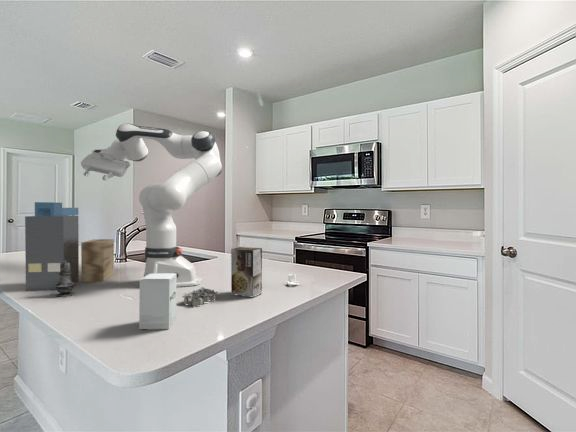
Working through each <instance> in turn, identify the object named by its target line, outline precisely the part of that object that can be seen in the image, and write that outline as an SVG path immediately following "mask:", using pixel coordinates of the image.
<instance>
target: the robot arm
mask: <svg viewBox="0 0 576 432" xmlns="http://www.w3.org/2000/svg"><path fill="white" fill-rule="evenodd" d="M115 137H116V139H115V140H114V141H112V143H111V144H110V145H109V146H108V147H107V148H103V149H93V150H92V151H91V153H90V154H89V153H88V155H86V156H85V157H84V158H83V159H82V160H81V161H80V165H81V167H82V169H83V170H84V172H83V176H84V177H89V176H90V172H96V173H100V174H103V176H102V180H103V181H108V180H109V179H111V178H113V177H118V178H121V177H123V176H125V174H126V173H127V170H128V168H130V166H131V163H130V162H129V161H133V162H142V161H143V160H145V159H146V158H147V157H148V156H149V153H150V152H149V149H148V147H147V145H146V143H145V141H144V139H146V140H153V141H156V142H158V143H159V144H160V145H161V146H163V149H165V150H166V151H167V153H168V154H169V155H171V156H172V157H173V158H175V159H179V160H187V159H190V160H191V159H194V160H192V161H191V162H189V163H187V164H186V165H184V166H183V167H182V166H181V168H179V169H178V170H176V171H175V173H174V174H173V175H171V177H169V178H168V179H167V180H165V181H162V182H160V183H159V182H158V183H152V184H148V185H146V186H145V187H143V188H142V190H141V191H140V192H139V195H138V201H139V203H140V205H141V208H142V213H143V218H144V223H145V234H146V235H145V237H146V240H145V242H146V245H145V246H146V247H144V261H145V266H144V273H143V277H145V276H147V275H148V274H158V273H176V288H179V287H181V286H182V287H190V286H191V287H194V285H195V286H197V285H200V284H202V281H203V278H202V276H200V275H197V270H196V267H195V264H193V263H192V262H190V261H189V260H188V259H186V258H185V257H184V256H183V252H182V251H183V250H182V247H179V246H178V245H177V226H176V224H175V222H174V219H173V215H172V212H175V211H178V210H180V209H182V207H184V205H185V204H186V202H187V201H188V200H189V198H190V197H192V195H193V194H195V193H196V192H197V191H199V190H200V189H201V188H203V187H205V186H206V185H208V184H209V183H211V181H212V180H213V179H215V178H216V177H218V176H219V175H221V174H222V171H223V165H222V162H221V156H220V155H221V154H220V150H219V147H218V144H217V142H216V138H215V136H214V134H213V133H212V132H211V131H208V130H199V131H197V132H195V133H193V135H191V134H190V135H183V134H177V133H175V132H172V130H169V129H166V128H161V127H153V126H152V127H151V126H143V125H142V126H141V125H136V124H133V123H123V124H121V125H119V126H118V128H117V129H116V131H115ZM125 159H126V160H125ZM127 160H128V161H127Z"/></svg>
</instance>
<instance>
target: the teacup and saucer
mask: <svg viewBox="0 0 576 432" xmlns="http://www.w3.org/2000/svg"><path fill="white" fill-rule="evenodd" d="M287 277H288V278H287V279H288V281H287V282H288V283H286V285H287V284H288V285H295V284H297V285H298V283H294V282H297V274H295V273H289V274H288V275H287Z"/></svg>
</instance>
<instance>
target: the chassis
mask: <svg viewBox="0 0 576 432" xmlns="http://www.w3.org/2000/svg"><path fill="white" fill-rule="evenodd" d="M24 227H25V228H24V231H25V232H24V235H25V241H24V242H25V244H24V245H25V246H24V247H25V250H24V251H25V291H28V292H29V291H54V290H55V291H57V290H56V287H55V285H56V284H58V283H59V281H60V275H59V273H60V264H61V263H63V262H64V260H66V262H68V263H70V272H72V273H71V281H72V282H73V283H76V284H77V283H79V282H80V279H79V277H80V273H79V271H80V269H79V267H80V266H79V265H80V264H79V258H80V257H79V255H80V254H79V215H69V216H57V217H35V215H29V216H28V215H27V216H24Z"/></svg>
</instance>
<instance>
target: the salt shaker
mask: <svg viewBox="0 0 576 432" xmlns="http://www.w3.org/2000/svg"><path fill="white" fill-rule="evenodd" d="M71 273H72V272H70V263H68V262H66V260H64V262H63V263H61V264H60V273H59V275H60V281H59V283H58V284H56V285H55V287H56V290H55V291H56V292H58V293H57V294H56V295H55V297H56V298H68V297H67V296H69V297H72V295H73V296H74V295H75V294H76V293H75V292H73V290H74V289H75V287H76V284H77V283H73V282H72V281H71Z"/></svg>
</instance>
